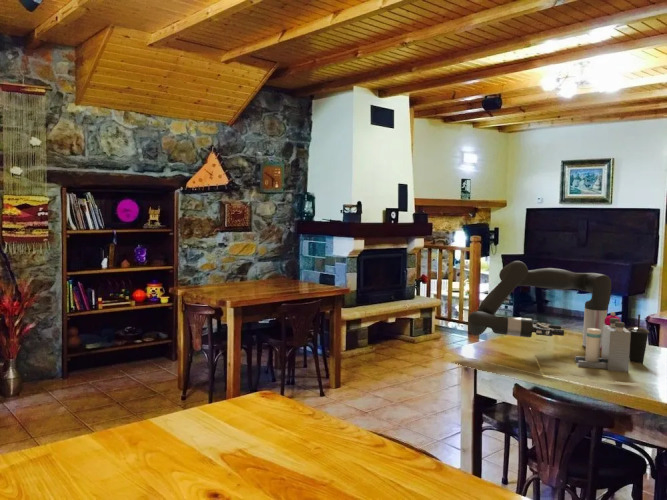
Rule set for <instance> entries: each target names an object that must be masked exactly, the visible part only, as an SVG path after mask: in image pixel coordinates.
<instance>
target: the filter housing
mask: <svg viewBox="0 0 667 500" xmlns="http://www.w3.org/2000/svg"><path fill="white" fill-rule="evenodd" d="M610 326H611V325H603V339H602V350H601V354H600V356H601V357H599V362H590V361H585V356H579V355H578V356H577V355H575V356H574V362H575V364H576V365H577V367H578V368H579V367H580V368H590V369H591V368H593V369H604V370H605V369H606V370H607V371H612V372H625V373H629V367H630V366H629V365H630V361H629V353H630V338H631V332H630V331H628V328H626V327H625V326H624V327H623V332H619V331H615V329H616V327H610Z"/></svg>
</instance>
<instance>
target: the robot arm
mask: <svg viewBox="0 0 667 500" xmlns="http://www.w3.org/2000/svg"><path fill="white" fill-rule="evenodd" d="M498 276H499V279H500V282H499V283H498V284H497V285H496V286H495V287H494V288H493V289H492V290H491V291H490V292H489V293H488V294H487V295H486V296H485V298H484V299H483V300H482V301H481V302H480V304H479V306H478V309H477V311H473V312H471V313H470V314H469V315H468V319H467V328H468V331H469V333H470V334H472V335H473V336H480V335H482V334H483V333H485V332H486V330H487V329H488V328H489V329H491V331H492V333H494V334H495V335H496V334H497V335H507V336H512V337H522V338H532V335H533V333H534V334H535V335H536V336H545V337H553V336H561V337H562V336H565V330H564V329H562V326H561V325H554V324H550V323H548V322H535V321H534V322H533V319H532V318H527V317H516V316H512V317H509V316H508V317H507V316H498V315H496V314H497V312H498V310H499V309H500V308H501V306H502V305H503V304H504V302H505V301H506V300H507V298H508V297H509V296H510V295H511V293H512V292H513V291H514V290H515V289H516V288H517V287H534V288H535V287H536V288H541V289H542V288H543V289H549V290H557V291H559V290H560V291H561V290H562V291H563V290H565V291H566V290H572V289H573V290H579V291H583V292H587V293H591V298H590V300H587V301H585V302H584V315H583V331H582V346H583V347H585V348H586V337H587V336H586V332H587V328H595V329H600V330H601V341H600V350H601V346H602V339H603V325H606V324H605V323H604V321H605V318H606V317H607V316H608V306H609V304H610V300H611V292H612V281H611V278H610V276H608V275H606V274H602V273H596V272H573V271H570V270H566V269H564V268H563V269H561V268H555V267H554V268H553V267H547V268H546V267H544V268H536V269H530V270H529V269H528V266H527V265H526V263H524V262H523V261H520V260H514V261H512V262H510V263H508V264H506V265H505V266H504V267H502V268H501V270H500V271H499V275H498Z"/></svg>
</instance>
